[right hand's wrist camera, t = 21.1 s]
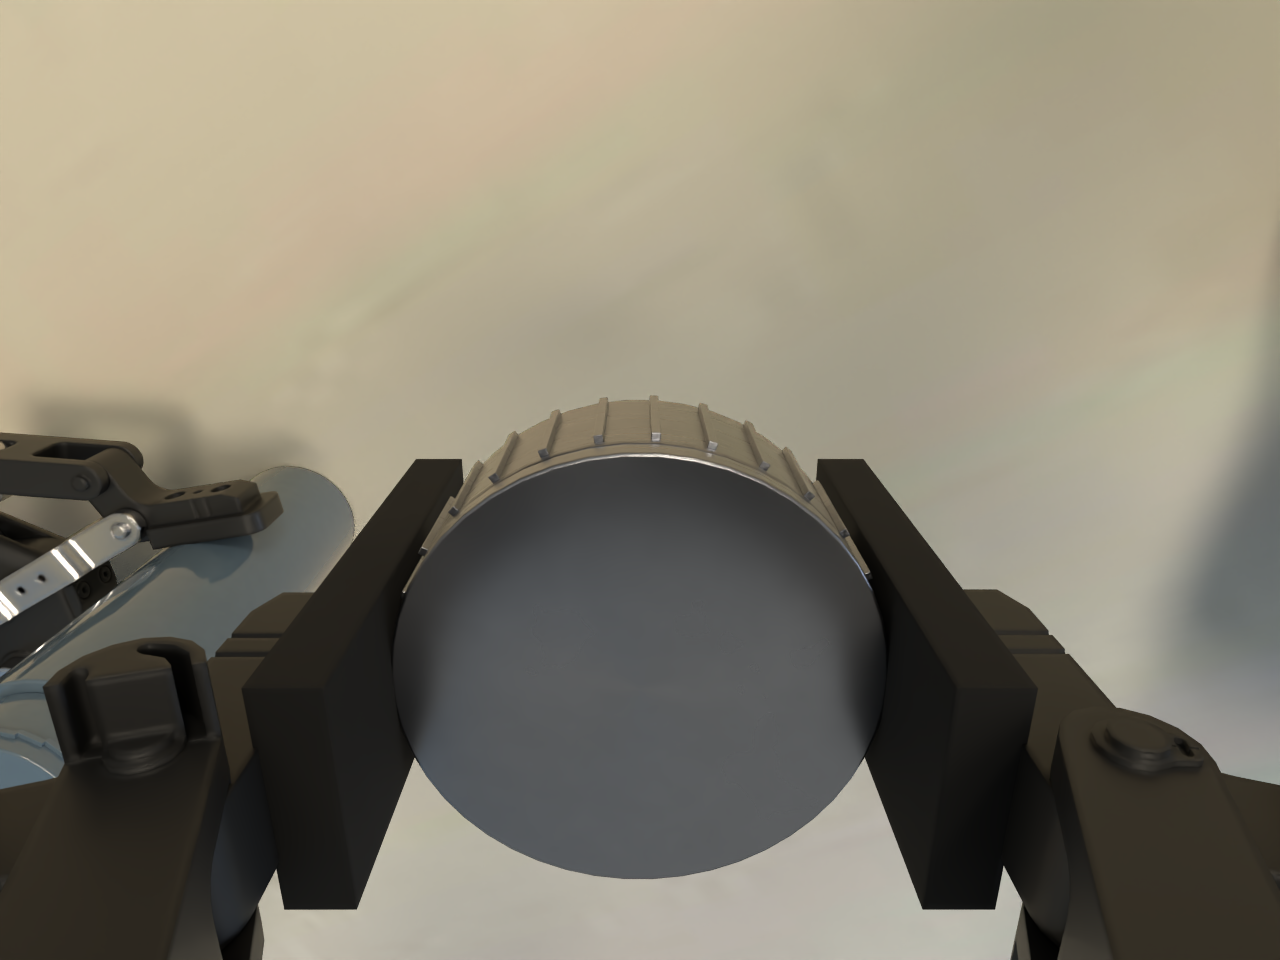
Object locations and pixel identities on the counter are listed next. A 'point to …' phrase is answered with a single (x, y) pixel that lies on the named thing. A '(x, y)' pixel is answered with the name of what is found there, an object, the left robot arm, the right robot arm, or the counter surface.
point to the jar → (179, 606)
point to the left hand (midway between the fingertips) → (294, 583)
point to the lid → (639, 644)
